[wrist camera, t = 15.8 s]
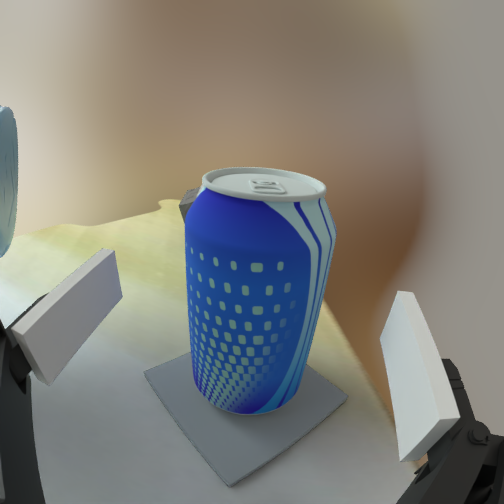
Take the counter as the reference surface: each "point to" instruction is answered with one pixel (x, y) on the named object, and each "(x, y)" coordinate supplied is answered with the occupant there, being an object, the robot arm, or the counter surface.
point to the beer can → (255, 283)
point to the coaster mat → (241, 419)
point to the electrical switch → (189, 200)
